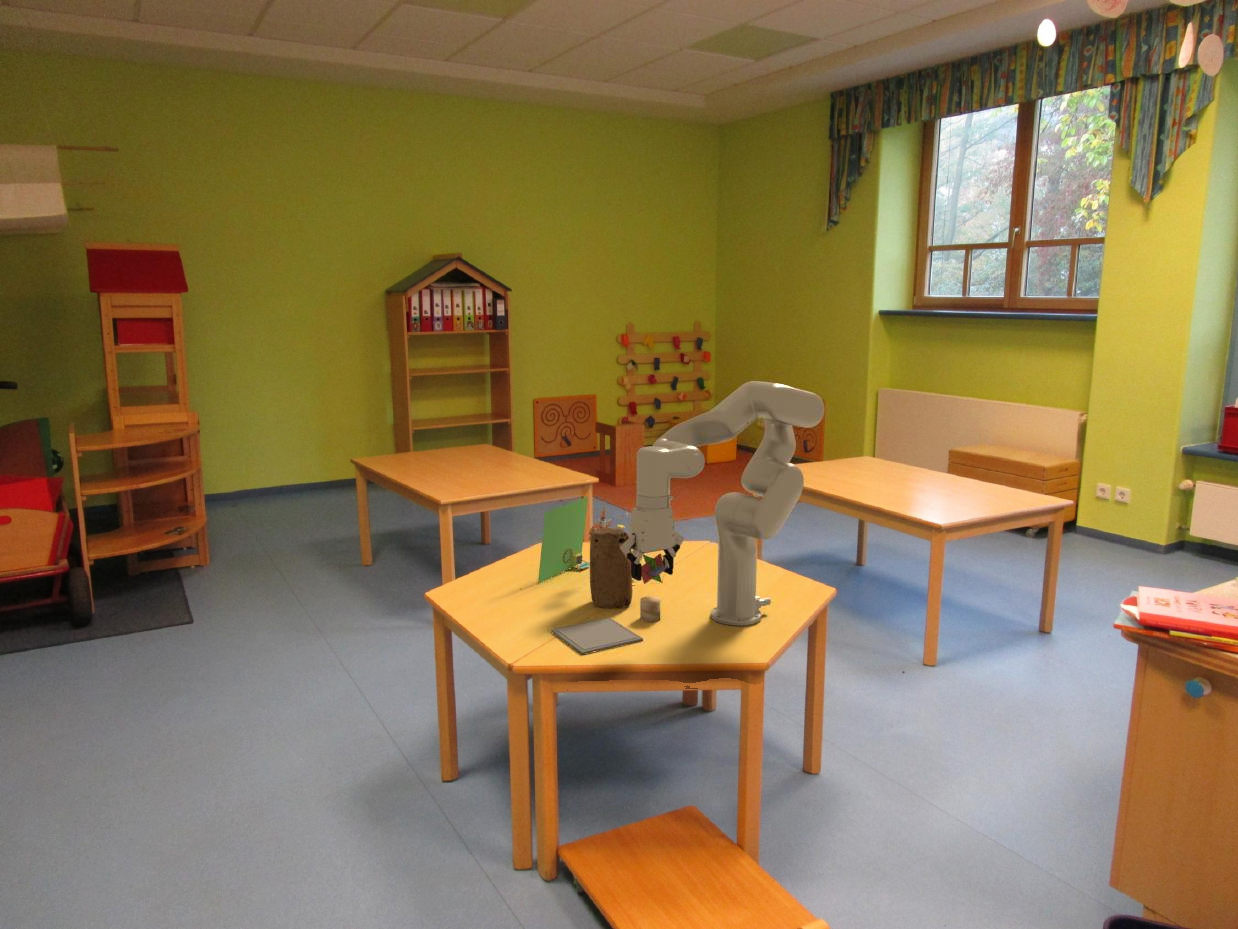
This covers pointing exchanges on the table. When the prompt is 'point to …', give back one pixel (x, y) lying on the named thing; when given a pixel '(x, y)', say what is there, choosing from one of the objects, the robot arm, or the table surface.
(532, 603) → the table surface
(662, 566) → the geometric puzzle
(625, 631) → the felt mat
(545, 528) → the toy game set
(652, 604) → the tan rounded cylinder
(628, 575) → the block
